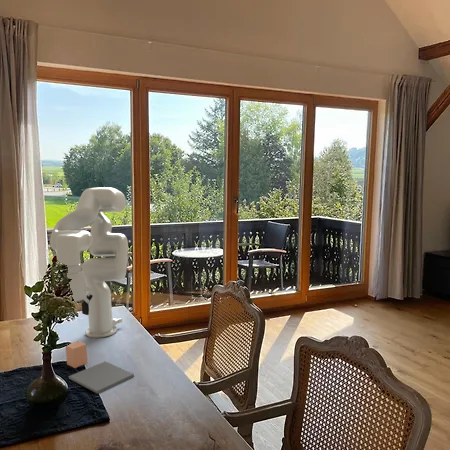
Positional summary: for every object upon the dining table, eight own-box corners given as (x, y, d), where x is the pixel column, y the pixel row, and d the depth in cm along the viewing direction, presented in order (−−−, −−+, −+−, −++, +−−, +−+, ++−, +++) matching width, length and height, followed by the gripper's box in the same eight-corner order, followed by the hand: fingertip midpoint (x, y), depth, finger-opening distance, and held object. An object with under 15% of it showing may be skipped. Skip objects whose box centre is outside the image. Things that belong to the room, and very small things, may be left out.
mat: (105, 363, 158) (105, 361, 158) (133, 376, 148) (133, 373, 148) (68, 378, 148) (68, 376, 148) (97, 393, 137) (97, 391, 137)
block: (79, 359, 162) (78, 340, 161) (87, 363, 159) (86, 344, 158) (67, 364, 159) (65, 345, 158) (74, 368, 155) (73, 348, 154)
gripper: (85, 263, 163) (88, 309, 165) (39, 273, 150) (44, 322, 152) (97, 266, 158) (100, 313, 160) (51, 276, 145) (55, 327, 147)
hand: (73, 318), depth 156 cm, fingers open, 9 cm apart
